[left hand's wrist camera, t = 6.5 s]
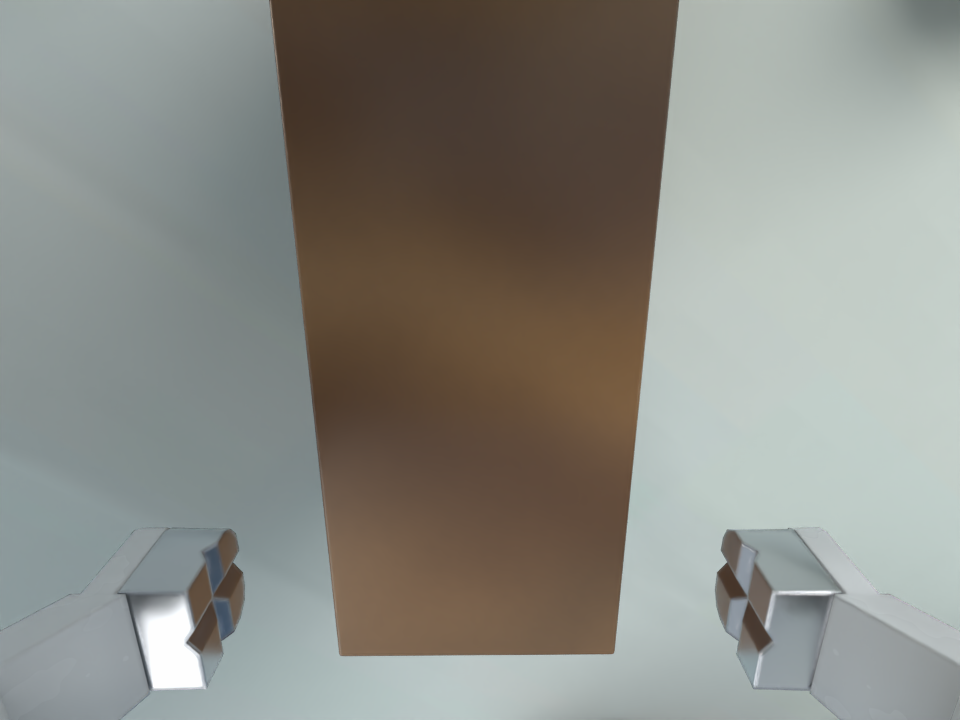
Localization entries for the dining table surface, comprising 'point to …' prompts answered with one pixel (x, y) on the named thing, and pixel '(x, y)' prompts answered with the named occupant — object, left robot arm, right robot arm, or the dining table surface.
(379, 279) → the box
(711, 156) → the dining table surface
